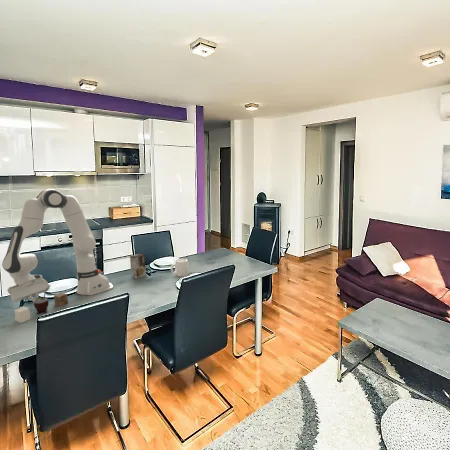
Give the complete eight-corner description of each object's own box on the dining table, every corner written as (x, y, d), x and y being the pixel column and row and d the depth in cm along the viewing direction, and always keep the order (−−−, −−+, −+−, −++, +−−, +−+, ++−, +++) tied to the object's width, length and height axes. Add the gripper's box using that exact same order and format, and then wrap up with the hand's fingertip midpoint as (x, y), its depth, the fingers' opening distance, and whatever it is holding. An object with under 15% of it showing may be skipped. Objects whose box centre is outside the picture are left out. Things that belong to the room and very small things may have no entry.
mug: (175, 278, 231) (174, 264, 229) (168, 274, 239) (168, 261, 237) (191, 274, 239) (190, 260, 237) (184, 270, 247) (184, 257, 245)
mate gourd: (32, 313, 177) (28, 288, 175) (44, 307, 185) (41, 283, 182) (41, 315, 175) (38, 289, 172) (54, 309, 182) (51, 284, 179)
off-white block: (25, 316, 174) (24, 306, 173) (30, 318, 171) (29, 308, 170) (15, 320, 169) (14, 310, 168) (20, 322, 167) (19, 312, 166)
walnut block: (62, 301, 192) (61, 292, 191) (67, 303, 190) (66, 294, 189) (54, 304, 188) (53, 295, 187) (60, 306, 186) (59, 297, 185)
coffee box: (140, 273, 242) (139, 253, 239) (146, 275, 238) (145, 254, 235) (130, 277, 234) (129, 256, 231) (136, 278, 231) (135, 257, 228)
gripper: (7, 285, 174) (19, 305, 171) (43, 274, 192) (55, 292, 189) (4, 291, 177) (16, 311, 174) (40, 279, 194) (51, 298, 192)
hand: (37, 301), depth 181 cm, fingers closed
